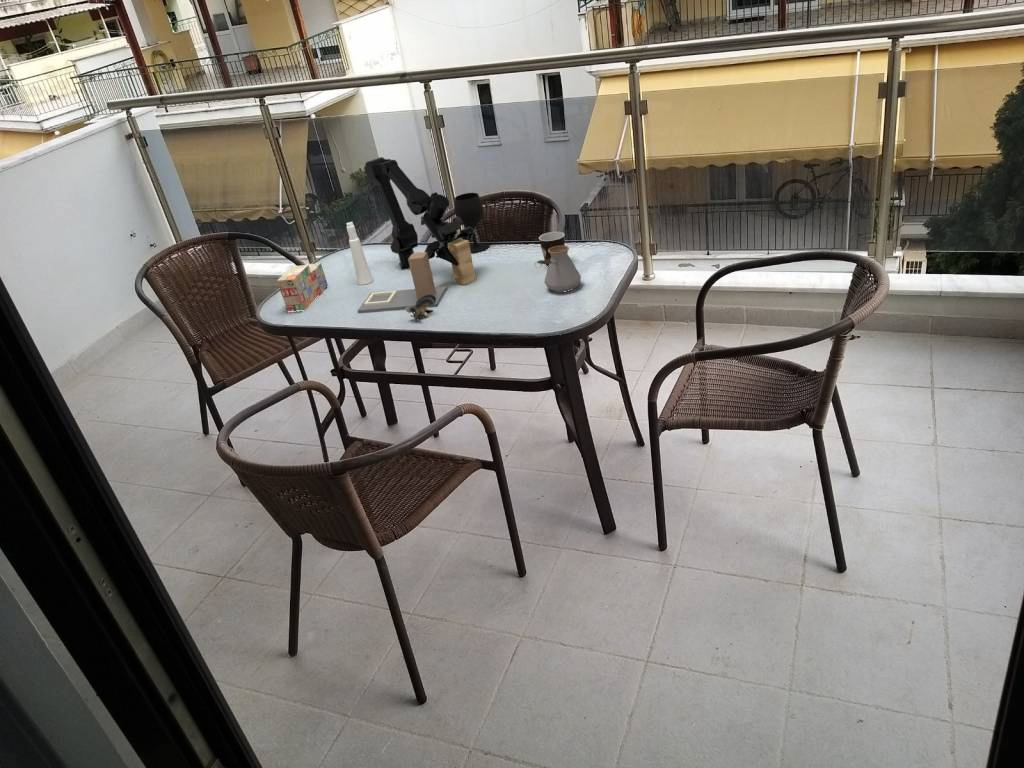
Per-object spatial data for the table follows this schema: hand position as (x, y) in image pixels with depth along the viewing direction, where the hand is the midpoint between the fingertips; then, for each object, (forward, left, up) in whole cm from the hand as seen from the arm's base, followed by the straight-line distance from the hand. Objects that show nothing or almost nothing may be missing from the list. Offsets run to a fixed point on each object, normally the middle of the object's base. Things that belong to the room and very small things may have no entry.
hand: (464, 262), depth 254 cm
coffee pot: (+29, +22, -7) cm, 37 cm away
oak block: (-1, -1, -7) cm, 7 cm away
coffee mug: (+3, +30, -7) cm, 31 cm away
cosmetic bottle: (-25, -33, -7) cm, 42 cm away
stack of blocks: (-22, -53, -7) cm, 58 cm away
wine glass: (-31, +10, -7) cm, 34 cm away
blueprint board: (+2, -23, -7) cm, 24 cm away
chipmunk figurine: (+19, -19, -7) cm, 28 cm away
